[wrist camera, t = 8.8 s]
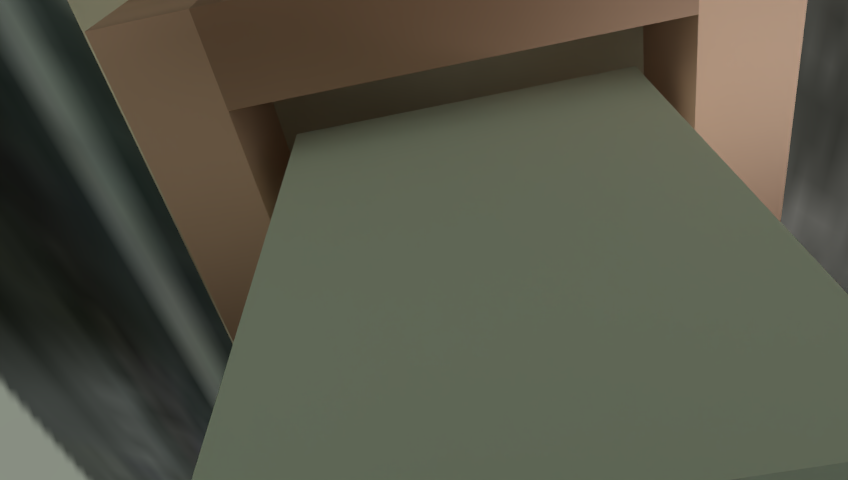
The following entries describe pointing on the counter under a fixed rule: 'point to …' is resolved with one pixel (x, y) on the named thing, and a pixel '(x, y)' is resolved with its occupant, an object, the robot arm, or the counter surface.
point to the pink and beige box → (409, 87)
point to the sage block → (530, 306)
